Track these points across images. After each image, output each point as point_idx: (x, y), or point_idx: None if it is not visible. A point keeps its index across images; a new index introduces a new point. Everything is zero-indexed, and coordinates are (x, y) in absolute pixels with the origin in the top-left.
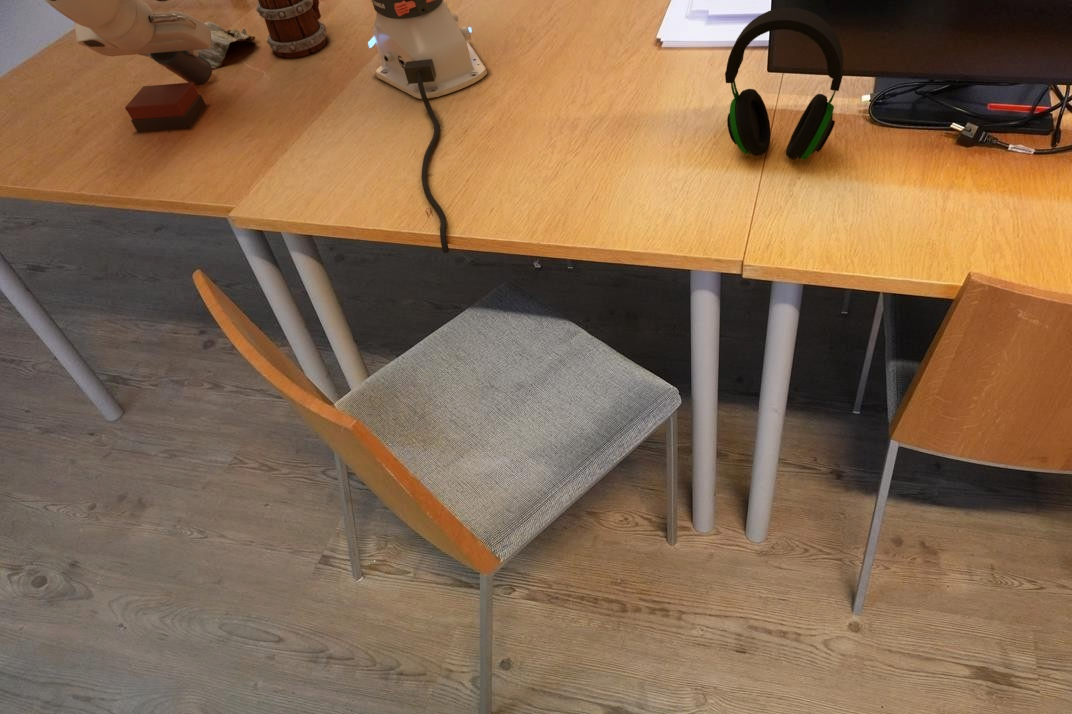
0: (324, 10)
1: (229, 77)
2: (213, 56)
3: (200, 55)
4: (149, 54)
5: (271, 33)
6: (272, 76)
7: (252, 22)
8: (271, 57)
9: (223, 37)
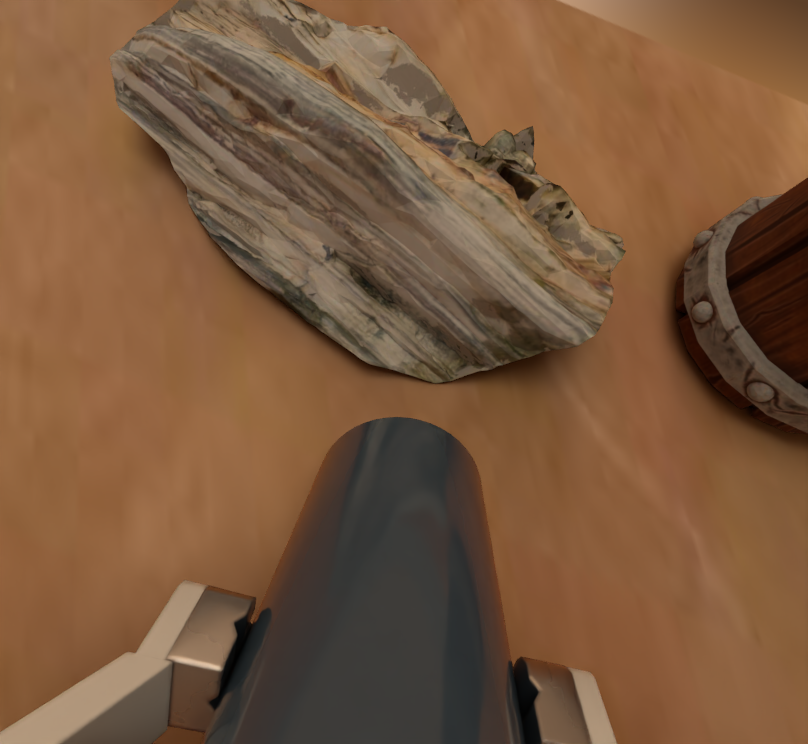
0: (758, 89)
1: (526, 512)
2: (447, 332)
3: (483, 511)
4: (145, 741)
5: (802, 342)
6: (747, 595)
7: (512, 56)
8: (677, 380)
9: (527, 252)
